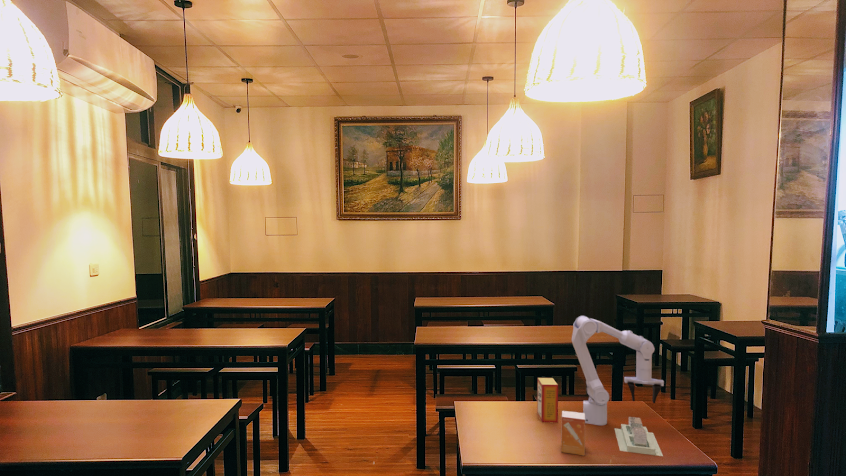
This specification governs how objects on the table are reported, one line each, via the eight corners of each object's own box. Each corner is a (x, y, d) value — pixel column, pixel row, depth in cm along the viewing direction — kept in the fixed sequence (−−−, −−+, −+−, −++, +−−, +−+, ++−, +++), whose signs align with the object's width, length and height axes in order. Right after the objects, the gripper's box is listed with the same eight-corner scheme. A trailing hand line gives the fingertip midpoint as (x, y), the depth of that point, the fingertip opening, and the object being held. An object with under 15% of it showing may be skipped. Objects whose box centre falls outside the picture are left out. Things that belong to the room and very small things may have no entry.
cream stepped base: (619, 452, 168) (619, 445, 168) (614, 430, 187) (614, 423, 187) (663, 458, 164) (663, 450, 164) (652, 434, 183) (653, 427, 183)
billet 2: (634, 450, 168) (634, 433, 168) (631, 442, 174) (632, 426, 174) (646, 451, 167) (646, 434, 167) (643, 444, 173) (643, 428, 173)
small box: (561, 452, 168) (561, 416, 168) (561, 445, 174) (561, 410, 174) (585, 456, 165) (585, 419, 165) (584, 448, 172) (584, 412, 171)
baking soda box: (537, 413, 204) (537, 376, 204) (552, 413, 204) (552, 377, 204) (541, 422, 195) (542, 383, 195) (557, 422, 195) (558, 384, 194)
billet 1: (630, 438, 178) (630, 422, 178) (628, 431, 184) (628, 416, 184) (642, 439, 177) (642, 423, 177) (639, 433, 183) (639, 417, 182)
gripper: (625, 369, 191) (625, 402, 191) (665, 372, 187) (665, 406, 187) (623, 364, 198) (623, 397, 198) (661, 367, 194) (661, 400, 194)
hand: (643, 401), depth 193 cm, fingers open, 7 cm apart
